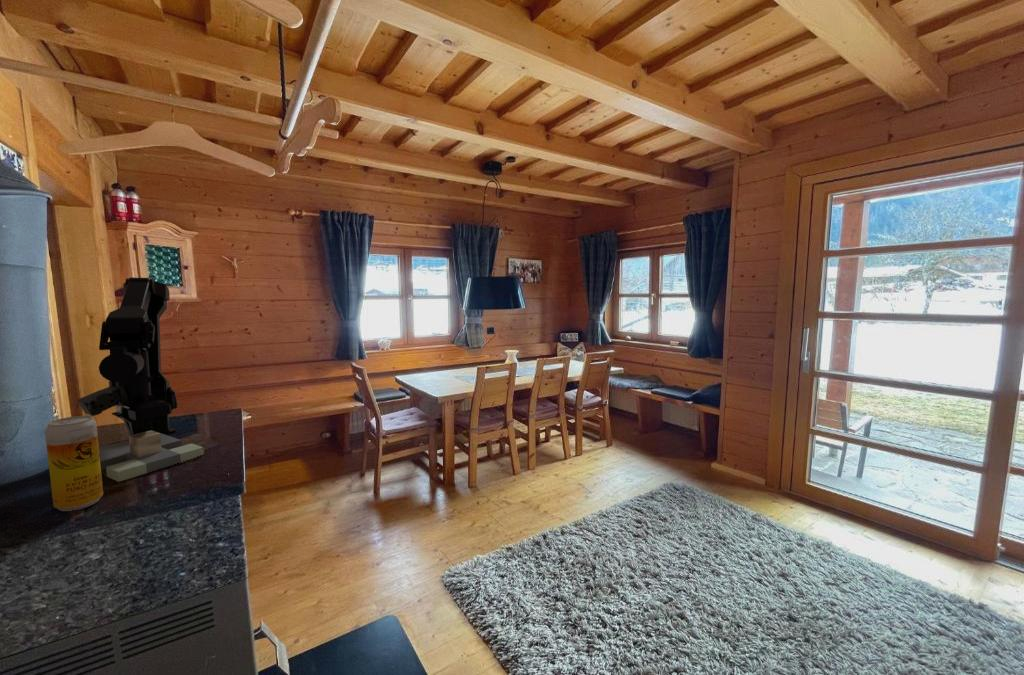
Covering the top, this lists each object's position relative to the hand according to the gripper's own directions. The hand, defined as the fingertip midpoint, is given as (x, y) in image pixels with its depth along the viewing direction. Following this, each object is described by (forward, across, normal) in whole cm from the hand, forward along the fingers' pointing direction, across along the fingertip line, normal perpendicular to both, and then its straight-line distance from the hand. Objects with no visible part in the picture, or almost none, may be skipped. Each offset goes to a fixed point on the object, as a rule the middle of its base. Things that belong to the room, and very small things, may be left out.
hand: (137, 443), depth 93 cm
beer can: (+4, +16, -14) cm, 22 cm away
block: (+1, +4, 0) cm, 4 cm away
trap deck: (+4, +1, 0) cm, 4 cm away
